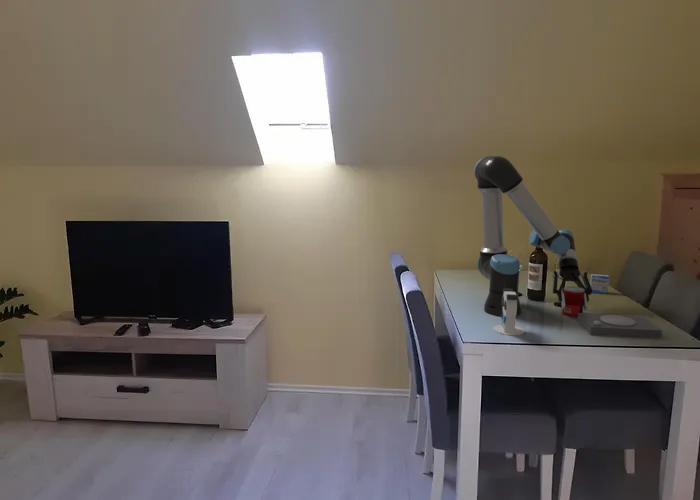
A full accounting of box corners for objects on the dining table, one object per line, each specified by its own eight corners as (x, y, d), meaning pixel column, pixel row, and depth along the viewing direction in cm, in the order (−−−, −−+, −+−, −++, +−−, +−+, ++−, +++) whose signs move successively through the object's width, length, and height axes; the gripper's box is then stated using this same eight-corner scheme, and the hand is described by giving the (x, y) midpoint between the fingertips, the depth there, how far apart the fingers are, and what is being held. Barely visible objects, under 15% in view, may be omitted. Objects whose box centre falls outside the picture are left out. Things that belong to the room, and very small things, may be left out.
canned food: (584, 317, 214) (586, 291, 212) (563, 316, 215) (565, 290, 213) (580, 312, 221) (582, 286, 219) (560, 311, 223) (562, 286, 221)
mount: (590, 334, 193) (591, 323, 192) (577, 320, 210) (578, 310, 210) (660, 338, 189) (661, 327, 189) (641, 323, 207) (642, 312, 206)
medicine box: (589, 292, 253) (591, 275, 252) (589, 290, 257) (590, 273, 256) (608, 294, 250) (609, 276, 249) (607, 292, 254) (608, 274, 253)
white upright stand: (491, 324, 205) (492, 287, 202) (521, 325, 203) (523, 288, 201) (494, 334, 193) (496, 295, 191) (526, 336, 192) (529, 296, 189)
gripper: (591, 267, 229) (599, 313, 216) (541, 265, 232) (546, 311, 219) (595, 257, 223) (604, 304, 210) (544, 256, 226) (550, 302, 213)
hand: (574, 308), depth 214 cm, fingers closed on canned food, 8 cm apart
